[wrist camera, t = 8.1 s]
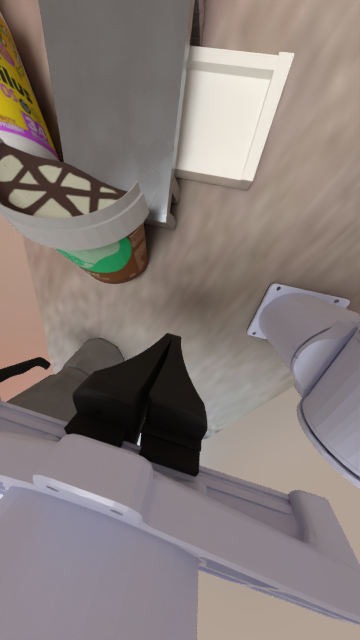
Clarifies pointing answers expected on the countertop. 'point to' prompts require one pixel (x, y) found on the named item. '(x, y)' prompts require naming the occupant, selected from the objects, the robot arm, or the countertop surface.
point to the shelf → (122, 89)
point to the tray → (227, 113)
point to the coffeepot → (62, 379)
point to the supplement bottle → (20, 104)
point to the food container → (75, 214)
